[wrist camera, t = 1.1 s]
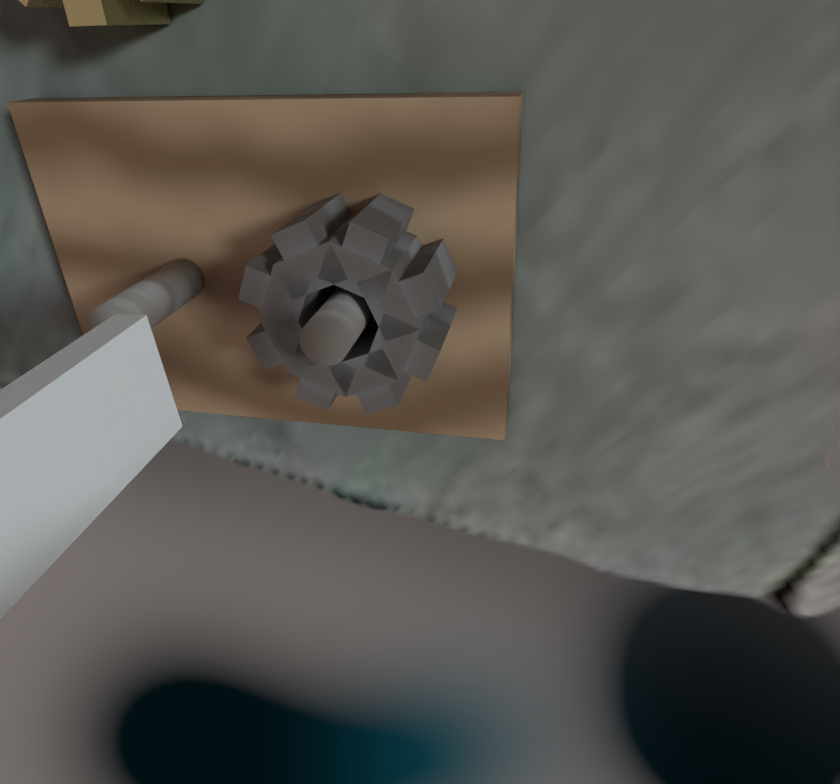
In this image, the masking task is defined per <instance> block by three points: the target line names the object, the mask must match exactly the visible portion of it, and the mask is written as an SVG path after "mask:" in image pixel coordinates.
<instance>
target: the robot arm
mask: <svg viewBox="0 0 840 784" xmlns="http://www.w3.org/2000/svg"><path fill="white" fill-rule="evenodd" d="M181 427H182V423H181V420H180V417H179V414H178V411H177V408H176V405H175V402H174V398H173V395H172V392H171V389H170V386H169V383H168V380H167V377H166V374H165V371H164V367H163V364H162V361H161V358H160V355H159V352H158V349H157V346H156V343H155V340H154V336H153V333H152V330H151V327H150V324H149V321H148V318H147V315H113V316H112V317H110V318H109V319H107V320H106V321H104V322H102V323H101V324H99V325H98V326H96V327H95V328H93V329H92V330H90V331H89V332H87V333H86V334H84V335H83V336H81V337H80V338H78V339H77V340H75V341H74V342H72V343H71V344H69V345H68V346H66V347H65V348H63V349H62V350H60V351H59V352H57V353H56V354H54V355H53V356H51V357H49V358H48V359H46V360H45V361H43V362H42V363H40V364H39V365H37V366H36V367H34V368H33V369H31V370H30V371H28V372H27V373H25V374H24V375H22V376H21V377H19V378H18V379H16V380H15V381H13V382H12V383H10V384H9V385H7V386H6V387H4V388H3V389H1V390H0V618H1V617H2V616H3V615H4V614H5V613H6V612H7V611H8V610H9V609H10V608H11V607H12V606H13V605H14V604H15V602H16V601H17V600H18V599H19V598H20V597H21V596H22V595H23V594H24V593H25V592H26V591H27V590H28V589H29V588H30V587H31V586H32V585H33V583H34V582H35V581H36V580H37V579H38V578H39V577H40V576H41V575H42V574H43V573H44V572H45V571H46V570H47V568H48V567H50V566H51V564H52V563H53V562H54V561H55V560H56V559H57V558H58V557H59V556H60V555H61V554H62V553H63V552H64V551H65V550H66V549H67V548H68V547H69V546H70V544H71V543H72V542H73V541H74V540H75V539H76V538H77V537H78V536H79V535H80V534H81V533H82V532H83V531H84V529H86V528H87V527H88V525H89V524H90V523H91V522H92V521H93V520H94V519H95V518H96V517H97V516H98V515H99V514H100V513H101V512H102V511H103V510H104V509H105V508H106V506H107V505H108V504H109V503H110V502H111V501H112V500H113V499H114V498H115V497H116V496H117V495H118V494H119V493H120V492H121V491H122V490H123V489H124V488H125V486H126V485H127V484H128V483H129V482H130V481H131V480H132V479H133V478H134V477H135V476H136V475H137V474H138V473H139V472H140V471H141V470H142V469H143V467H144V466H145V465H146V464H147V463H148V462H149V461H150V460H151V459H152V458H153V457H154V456H155V455H156V454H157V453H158V452H159V451H160V450H161V448H162V447H163V446H164V445H165V444H166V443H167V442H168V441H169V440H170V439H171V438H172V437H173V436H174V435H175V434H176V433H177V432H178V431H179V429H180V428H181ZM824 463H825V465H826V467H827V468H828V470H829V472H830V474H831V476H832V478H833V480H834V481H835V483H836V485H837V487H838V489H839V491H840V407H839V410H838V413H837V417H836V420H835V424H834V427H833V431H832V434H831V437H830V441H829V444H828V448H827V451H826V455H825V458H824Z"/></svg>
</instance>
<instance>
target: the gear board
mask: <svg viewBox="0 0 840 784" xmlns="http://www.w3.org/2000/svg"><path fill="white" fill-rule="evenodd" d="M522 102H523V92H474V93H399V94H324V95H248V96H173V97H98V98H34V99H27V100H21V101H14V102H7V104H8V107H9V110H10V113H11V116H12V119H13V122H14V125H15V128H16V131H17V134H18V138H19V141H20V144H21V147H22V150H23V153H24V156H25V159H26V162H27V165H28V168H29V171H30V174H31V177H32V180H33V183H34V186H35V190H36V193H37V196H38V199H39V202H40V205H41V208H42V211H43V214H44V217H45V220H46V223H47V226H48V229H49V232H50V235H51V239H52V242H53V245H54V248H55V251H56V254H57V257H58V260H59V263H60V266H61V269H62V272H63V275H64V278H65V281H66V284H67V287H68V291H69V294H70V297H71V300H72V303H73V306H74V309H75V312H76V315H77V318H78V321H79V324H80V327H81V330H82V333H83V335H84V334H86V333H87V332H89V331H90V330H92V329H93V328H95V327H96V326H98V325H99V324H101V323H102V322H104V321H106V320H107V319H109V318H110V317H112V316H113V315H147V318H148V321H149V324H150V327H151V330H152V333H153V336H154V340H155V343H156V346H157V349H158V352H159V355H160V358H161V361H162V364H163V367H164V371H165V374H166V377H167V380H168V383H169V386H170V389H171V392H172V395H173V398H174V402H175V405H176V408H177V410H182V411H193V412H204V413H214V414H225V415H236V416H247V417H258V418H269V419H280V420H291V421H301V422H312V423H323V424H334V425H345V426H356V427H367V428H378V429H388V430H399V431H410V432H421V433H432V434H443V435H454V436H464V437H475V438H486V439H497V440H505V435H506V429H507V423H508V404H509V383H510V361H511V340H512V318H513V296H514V275H515V253H516V231H517V210H518V188H519V167H520V145H521V123H522Z"/></svg>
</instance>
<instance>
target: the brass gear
mask: <svg viewBox="0 0 840 784" xmlns="http://www.w3.org/2000/svg"><path fill="white" fill-rule="evenodd" d="M19 1H20V2H21V3H22V4H23V5H24V6H25V7H49V8H65V12H66V15H67V19H68V23H69V26H70V27H72V26H124V25H157V24H171V22H170V17H169V12H168V7H167V3H191V4H203V2H204V1H205V0H19Z"/></svg>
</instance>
